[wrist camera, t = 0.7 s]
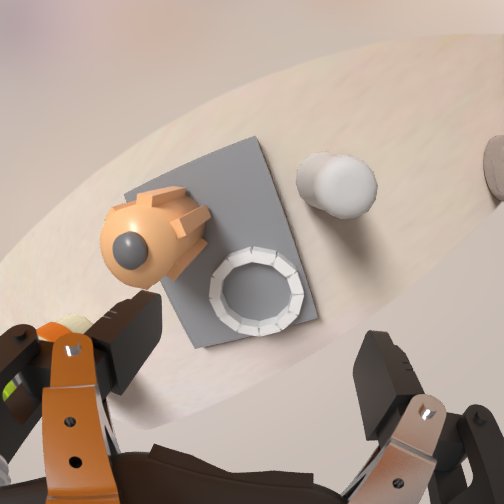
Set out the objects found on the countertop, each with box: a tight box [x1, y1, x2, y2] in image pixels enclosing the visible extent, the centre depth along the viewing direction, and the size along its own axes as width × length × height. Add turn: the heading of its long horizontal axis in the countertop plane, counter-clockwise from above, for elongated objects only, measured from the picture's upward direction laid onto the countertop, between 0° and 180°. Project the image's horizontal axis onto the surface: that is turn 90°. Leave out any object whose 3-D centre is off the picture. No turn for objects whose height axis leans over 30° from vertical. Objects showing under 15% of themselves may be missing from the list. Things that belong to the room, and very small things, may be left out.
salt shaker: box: [296, 152, 378, 219], centre depth 22 cm, size 6×6×13 cm
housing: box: [100, 136, 318, 349], centre depth 26 cm, size 16×21×13 cm
